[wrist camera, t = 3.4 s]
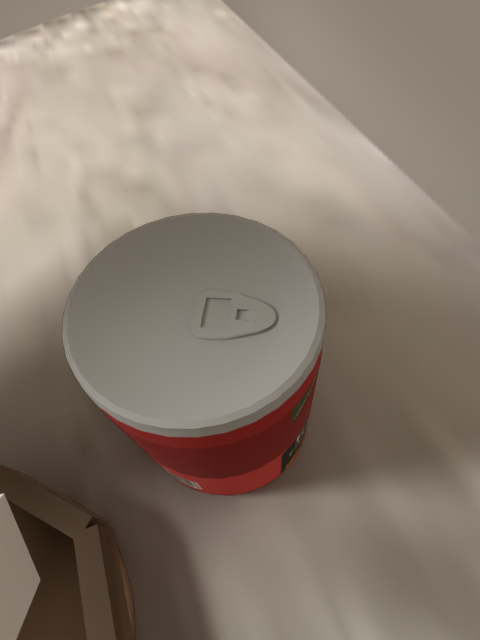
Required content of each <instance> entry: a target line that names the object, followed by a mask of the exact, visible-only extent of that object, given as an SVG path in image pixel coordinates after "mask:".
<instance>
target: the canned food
mask: <svg viewBox="0 0 480 640" xmlns="http://www.w3.org/2000/svg"><path fill="white" fill-rule="evenodd" d="M325 328H326V319H325V302H324V293H323V290H322V287H321V284H320V281H319V278H318V275H317V273H316V271H315V270H314V268H313V267H312V265H311V263H310V262H309V260H308V258H307V257H306V256H305V255H304V254H303V253H302V252H301V251H300V250H299V249H298V248H297V246H296V245H295V244H294V243H293V242H291V241H290V240H289V239H287V238H286V237H284V236H283V235H281V234H280V233H278V232H277V231H276V230H274V229H272V228H269V227H267V226H265V225H263V224H261V223H258V222H256V221H253V220H250V219H246V218H242V217H239V216H235V215H227V214H219V213H189V214H183V215H177V216H171V217H166V218H163V219H160V220H157V221H153V222H150V223H147V224H145V225H143V226H140V227H138V228H136V229H134V230H132V231H130V232H128V233H126V234H124V235H123V236H121V237H120V238H118V239H117V240H115V241H114V242H112V243H111V244H109V245H108V246H107V247H105V248H104V249H103V250H102V251H101V252H100V253H99V254H98V255H97V256H95V257H94V258H93V259H92V260H91V262H90V263H89V264H88V265H87V267H86V268H85V269H84V270H83V272H82V273H81V274H80V275H79V277H78V279H77V281H76V283H75V284H74V286H73V288H72V290H71V292H70V294H69V296H68V300H67V303H66V307H65V311H64V314H63V326H62V340H63V345H64V350H65V355H66V359H67V361H68V363H69V365H70V367H71V369H72V371H73V373H74V375H75V377H76V379H77V380H78V381H79V383H80V385H81V387H82V388H83V389H84V391H85V392H86V393H87V394H88V395H89V397H90V398H91V399H92V400H93V401H94V403H95V404H96V405H97V406H98V407H99V408H100V409H101V410H102V411H103V412H104V413H105V414H106V415H107V416H108V417H109V418H110V419H111V420H112V421H113V422H114V423H115V424H116V425H117V426H118V427H119V428H120V429H121V430H123V431H124V432H125V433H126V434H127V435H128V436H129V437H130V438H131V439H132V440H133V441H134V442H135V443H137V444H138V445H139V446H140V447H141V448H142V449H143V450H144V451H145V452H146V453H147V454H148V455H149V456H151V457H152V458H153V459H154V460H155V461H156V462H157V463H158V464H159V465H160V466H161V467H162V468H163V469H165V470H166V471H167V472H168V473H169V474H170V475H171V476H173V477H174V478H175V479H177V480H178V481H179V482H181V483H182V484H184V485H186V486H188V487H190V488H192V489H195V490H197V491H201V492H205V493H209V494H213V495H234V494H240V493H246V492H249V491H252V490H255V489H257V488H260V487H262V486H264V485H266V484H268V483H269V482H271V481H272V480H274V479H275V478H277V477H278V476H279V475H280V474H281V473H282V472H283V471H284V470H285V469H286V468H287V467H288V466H289V465H290V464H291V463H292V461H293V460H294V458H295V457H296V455H297V454H298V452H299V450H300V447H301V445H302V442H303V440H304V437H305V432H306V427H307V423H308V418H309V413H310V408H311V403H312V399H313V394H314V389H315V384H316V380H317V375H318V370H319V365H320V360H321V354H322V348H323V340H324V334H325Z"/></svg>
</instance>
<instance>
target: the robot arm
mask: <svg viewBox="0 0 480 640" xmlns="http://www.w3.org/2000/svg"><path fill="white" fill-rule="evenodd" d="M39 582H40V577H39V575H38V573H37V570H36V568H35V566H34V563H33V561H32V558H31V556H30V554H29V551H28V549H27V547H26V544H25V542H24V540H23V537H22V535H21V532H20V530H19V528H18V525H17V523H16V521H15V518H14V516H13V513H12V511H11V509H10V506H9V504H8V502H7V499H6V497H5V495H4V493H3V494H0V640H16V639H17V636H18V634H19V631H20V629H21V627H22V624H23V622H24V619H25V617H26V614H27V612H28V609H29V607H30V604H31V602H32V600H33V597H34V595H35V592H36V590H37V587H38V585H39Z"/></svg>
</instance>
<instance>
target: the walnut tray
mask: <svg viewBox="0 0 480 640" xmlns="http://www.w3.org/2000/svg"><path fill="white" fill-rule="evenodd" d="M3 493H4V495H5V497H6V499H7V502H8V504H9V506H10V509H11V511H12V513H13V516H14V518H15V521H16V523H17V525H18V528H19V530H20V532H21V535H22V537H23V540H24V542H25V544H26V547H27V549H28V551H29V554H30V556H31V558H32V561H33V563H34V566H35V568H36V570H37V573H38V575H39V577H40V582H39V585H38V587H37V590H36V592H35V595H34V597H33V600H32V602H31V604H30V607H29V609H28V612H27V614H26V617H25V619H24V622H23V624H22V627H21V629H20V631H19V634H18V636H17V639H16V640H135V617H134V605H133V597H132V590H131V586H130V582H129V578H128V574H127V570H126V567H125V565H124V562H123V560H122V557H121V554H120V552H119V550H118V548H117V546H116V541H115V535H114V530H113V529H112V528H108V527H106V526H107V524H108V521H106V520H104V519H103V518H101V517H99V516H97V515H96V514H94V513H92V512H90V511H89V510H87V509H86V508H84V507H83V506H81V505H80V504H78V503H77V502H75V501H74V500H72V499H70V498H67V497H65V496H63V495H61V494H59V493H57V492H55V491H53V490H52V489H50V488H48V487H46V486H44V485H43V484H41V483H39V482H37V481H36V480H34V479H32V478H30V477H29V476H27V475H25V474H23V473H20V472H18V471H15V470H13V469H11V468H8V467H6V466H3V465H1V467H0V494H3Z"/></svg>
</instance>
